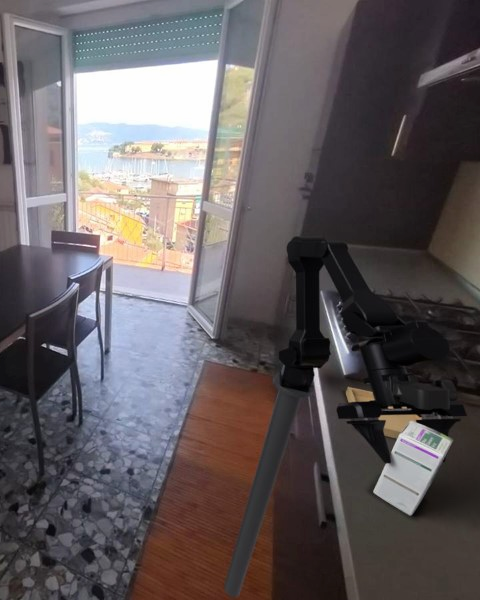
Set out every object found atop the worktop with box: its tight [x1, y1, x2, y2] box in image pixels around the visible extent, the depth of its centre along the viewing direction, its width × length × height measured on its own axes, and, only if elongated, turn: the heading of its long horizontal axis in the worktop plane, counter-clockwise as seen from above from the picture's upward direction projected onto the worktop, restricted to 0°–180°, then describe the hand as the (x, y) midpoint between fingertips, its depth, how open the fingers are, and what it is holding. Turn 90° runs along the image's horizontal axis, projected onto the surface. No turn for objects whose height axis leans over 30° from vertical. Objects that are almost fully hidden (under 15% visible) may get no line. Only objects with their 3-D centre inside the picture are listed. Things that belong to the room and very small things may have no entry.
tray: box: [345, 386, 422, 440], centre depth 81 cm, size 13×13×2 cm
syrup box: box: [372, 420, 454, 517], centre depth 61 cm, size 6×6×14 cm
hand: (414, 462), depth 61 cm, fingers open, 9 cm apart
